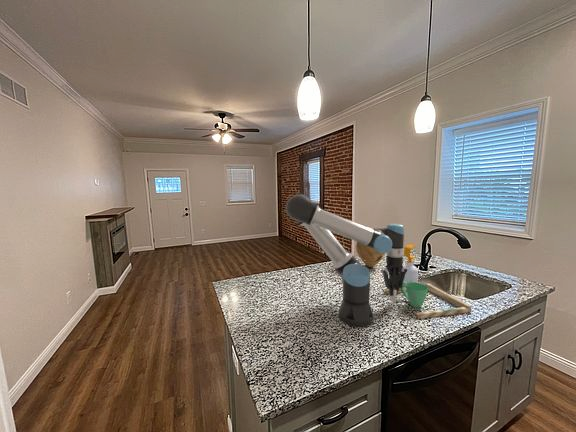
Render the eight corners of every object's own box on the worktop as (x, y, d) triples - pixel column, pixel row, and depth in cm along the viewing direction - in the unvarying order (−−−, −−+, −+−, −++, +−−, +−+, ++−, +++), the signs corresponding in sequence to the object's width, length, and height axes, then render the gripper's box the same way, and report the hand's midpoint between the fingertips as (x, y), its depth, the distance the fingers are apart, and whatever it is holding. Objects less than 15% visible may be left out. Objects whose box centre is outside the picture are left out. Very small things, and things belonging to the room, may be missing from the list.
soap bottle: (420, 286, 144) (423, 246, 141) (409, 289, 141) (411, 247, 138) (408, 281, 153) (410, 242, 150) (397, 283, 149) (398, 244, 146)
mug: (431, 307, 120) (432, 288, 119) (417, 311, 116) (418, 291, 115) (406, 295, 134) (407, 277, 132) (393, 299, 130) (393, 280, 129)
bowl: (365, 260, 194) (366, 236, 192) (390, 267, 179) (391, 240, 176) (349, 266, 181) (350, 240, 179) (374, 274, 166) (375, 245, 163)
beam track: (418, 318, 111) (418, 312, 110) (384, 292, 137) (384, 287, 137) (471, 312, 115) (471, 306, 115) (428, 288, 142) (428, 283, 142)
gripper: (386, 258, 115) (385, 306, 118) (411, 256, 117) (409, 303, 120) (378, 254, 122) (377, 299, 125) (401, 252, 125) (400, 296, 128)
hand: (393, 301), depth 123 cm, fingers closed
